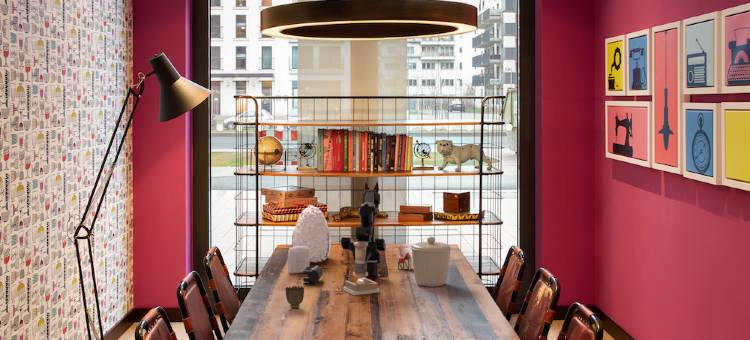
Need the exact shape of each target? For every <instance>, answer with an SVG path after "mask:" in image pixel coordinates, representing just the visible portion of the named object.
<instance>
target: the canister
mask: <svg viewBox="0 0 750 340" xmlns="http://www.w3.org/2000/svg"><path fill="white" fill-rule="evenodd" d="M410 249H411V256H412V257H411V258H412V267H413V274H414V280H415V282H416V284H417V285H419V286H421V287H427V288H434V287H435V288H436V287H441V286H444V285H445V283H447V278H448V274H449V266H450V265H449V264H450V258H451V251H452V249H453V247H452V246H450V245H449V244H447V243H445V242H439V241H436V238H435V237H434V236H429V237H427V239H426V241H421V242H416V243H414V244H413V245H411V246H410Z"/></svg>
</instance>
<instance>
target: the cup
mask: <svg viewBox="0 0 750 340" xmlns="http://www.w3.org/2000/svg"><path fill="white" fill-rule="evenodd" d="M304 296H305V287H304V286H303V285H301V286H299V285H297V286H296V285H292V286H289V287H288V286H286V287H285V297H286V301H287V303H288V304H289V307H290V308H291V309H294V310H297V309H299V308H300V307H301V306H300V305H301V303H302V302H303V300H304Z"/></svg>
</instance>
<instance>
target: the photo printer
mask: <svg viewBox="0 0 750 340" xmlns="http://www.w3.org/2000/svg"><path fill="white" fill-rule="evenodd" d="M287 251H288V253H287V260H288V261H287V271H288V272H287V273H288V274H300V273H302V274H303V270H304V269H306V267H310V262H309V248H308V247H305V246H295V247H292V246H291V247H289V248H288V250H287Z"/></svg>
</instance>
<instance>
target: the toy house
mask: <svg viewBox="0 0 750 340" xmlns="http://www.w3.org/2000/svg"><path fill="white" fill-rule="evenodd" d="M410 268H411V269H412V257H411V255H410V253H409V252H406V253H405V255H404V257H402V258H401V257H400V258H398V262H397V270H401V269H408V270H407V271H409V269H410ZM411 269H410V270H411Z"/></svg>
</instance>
